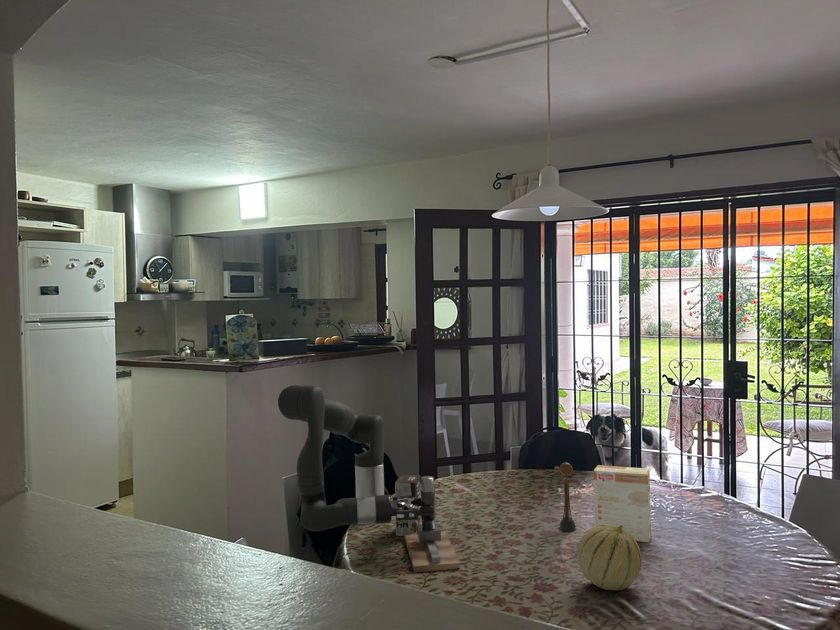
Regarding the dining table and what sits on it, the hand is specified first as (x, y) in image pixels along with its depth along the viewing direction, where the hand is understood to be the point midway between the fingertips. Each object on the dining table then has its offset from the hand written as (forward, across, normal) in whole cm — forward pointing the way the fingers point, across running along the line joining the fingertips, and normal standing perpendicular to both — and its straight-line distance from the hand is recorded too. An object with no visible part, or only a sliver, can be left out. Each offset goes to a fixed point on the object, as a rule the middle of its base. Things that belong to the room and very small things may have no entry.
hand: (431, 505), depth 175 cm
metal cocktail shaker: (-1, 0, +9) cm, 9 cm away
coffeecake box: (+56, -1, +12) cm, 57 cm away
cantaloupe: (+38, -32, +12) cm, 51 cm away
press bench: (-1, -3, +12) cm, 12 cm away
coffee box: (-5, +15, +12) cm, 20 cm away
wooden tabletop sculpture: (+42, +8, +12) cm, 45 cm away
